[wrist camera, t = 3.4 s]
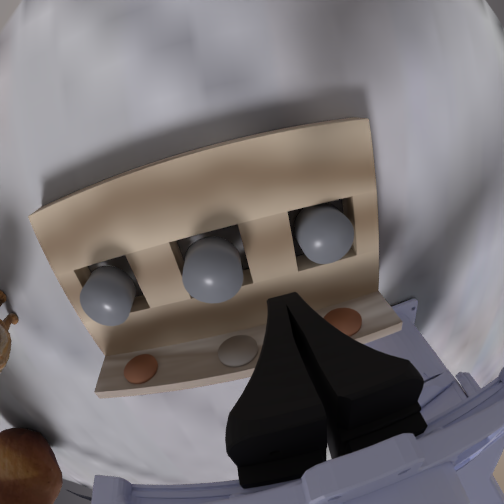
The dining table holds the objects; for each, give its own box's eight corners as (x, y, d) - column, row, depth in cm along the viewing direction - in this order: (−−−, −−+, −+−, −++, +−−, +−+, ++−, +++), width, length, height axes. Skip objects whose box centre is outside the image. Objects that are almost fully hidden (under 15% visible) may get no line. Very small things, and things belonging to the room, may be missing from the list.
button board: (367, 287, 24) (401, 331, 19) (115, 348, 24) (101, 399, 18) (354, 117, 17) (405, 123, 12) (41, 207, 17) (-4, 241, 12)
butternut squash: (-10, 405, 28) (-44, 519, 6) (45, 421, 30) (18, 560, 7) (29, 446, 34) (9, 545, 12) (82, 460, 36) (70, 573, 14)
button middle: (246, 278, 20) (249, 295, 18) (194, 291, 20) (193, 308, 18) (232, 230, 18) (234, 244, 16) (177, 244, 18) (173, 259, 16)
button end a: (344, 243, 21) (355, 256, 19) (297, 255, 21) (305, 270, 19) (339, 197, 19) (352, 206, 18) (289, 209, 19) (297, 219, 17)
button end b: (143, 303, 20) (138, 321, 18) (102, 312, 20) (95, 329, 18) (123, 260, 18) (115, 275, 16) (81, 272, 18) (70, 287, 16)
